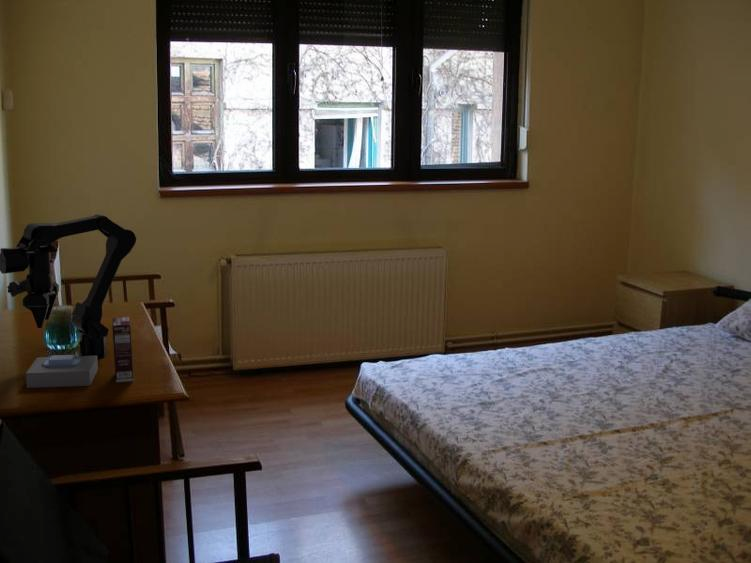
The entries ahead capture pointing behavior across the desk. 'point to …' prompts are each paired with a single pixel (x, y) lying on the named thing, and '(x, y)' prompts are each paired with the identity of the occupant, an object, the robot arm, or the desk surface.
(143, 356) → the desk surface
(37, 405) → the desk surface
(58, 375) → the chassis
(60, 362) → the block
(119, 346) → the supplement box
